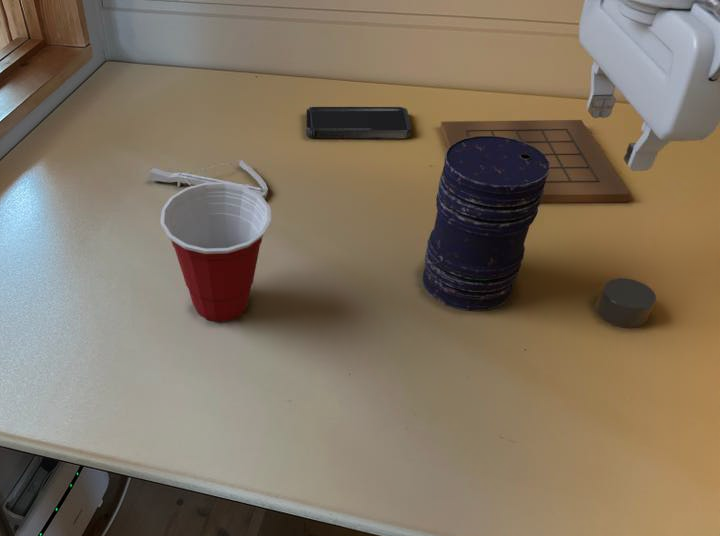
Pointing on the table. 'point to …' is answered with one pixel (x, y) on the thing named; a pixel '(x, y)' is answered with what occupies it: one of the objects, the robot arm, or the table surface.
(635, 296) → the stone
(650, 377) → the table surface
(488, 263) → the dark blue cylinder
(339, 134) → the phone
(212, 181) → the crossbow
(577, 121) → the board
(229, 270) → the plastic cup
